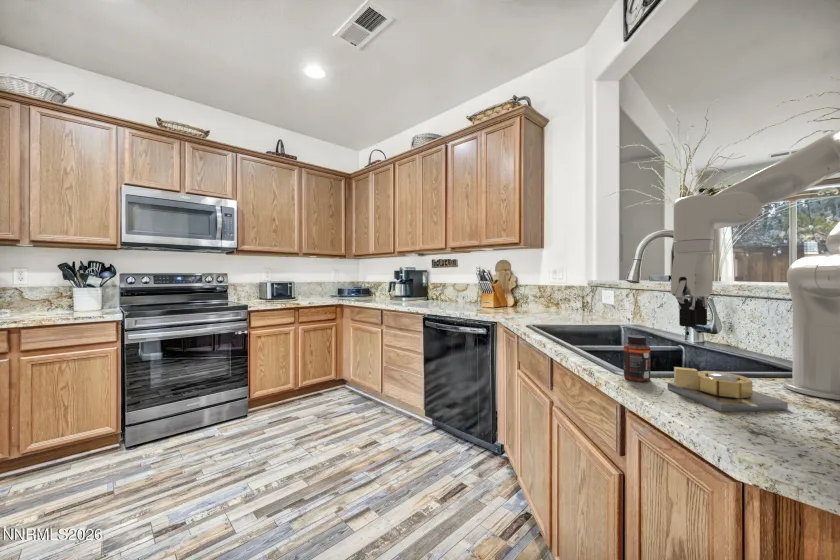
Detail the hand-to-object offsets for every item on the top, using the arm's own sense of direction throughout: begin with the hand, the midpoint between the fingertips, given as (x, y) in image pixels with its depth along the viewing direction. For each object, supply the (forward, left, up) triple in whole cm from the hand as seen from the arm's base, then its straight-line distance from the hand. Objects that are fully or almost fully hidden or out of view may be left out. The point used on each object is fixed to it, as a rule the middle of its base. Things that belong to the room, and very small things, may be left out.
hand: (693, 324), depth 82 cm
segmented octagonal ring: (+1, +5, -14) cm, 15 cm away
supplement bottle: (+8, -9, -16) cm, 19 cm away
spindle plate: (-1, +6, -15) cm, 17 cm away
